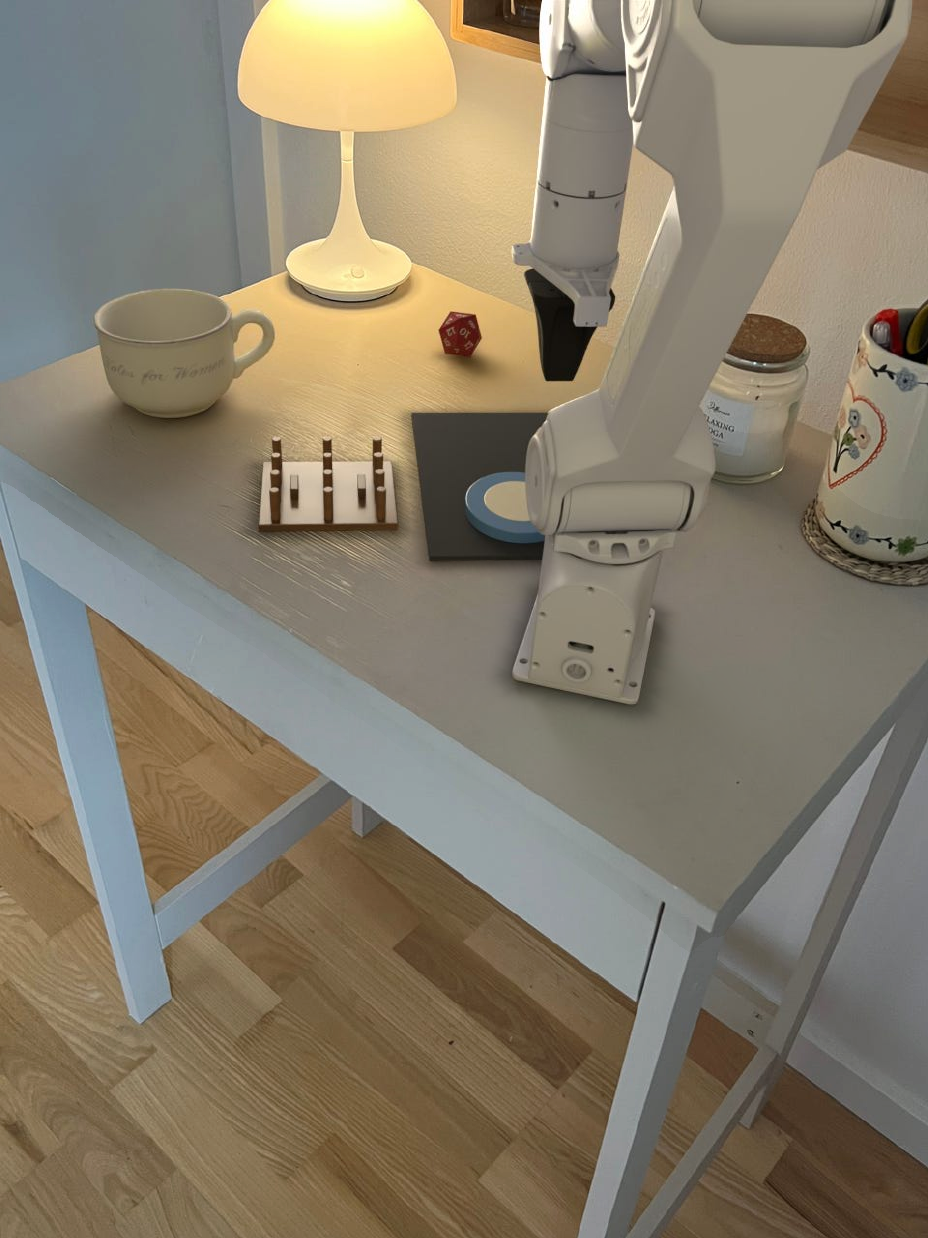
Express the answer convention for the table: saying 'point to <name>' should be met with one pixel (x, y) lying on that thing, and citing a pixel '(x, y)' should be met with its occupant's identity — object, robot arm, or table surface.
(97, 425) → the table surface
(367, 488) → the rack
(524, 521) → the plate
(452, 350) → the dice
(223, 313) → the teacup
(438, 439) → the placemat
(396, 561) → the table surface
